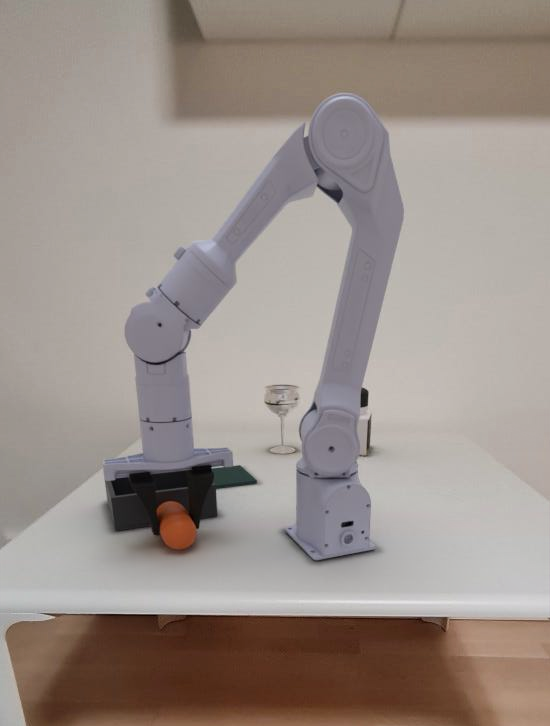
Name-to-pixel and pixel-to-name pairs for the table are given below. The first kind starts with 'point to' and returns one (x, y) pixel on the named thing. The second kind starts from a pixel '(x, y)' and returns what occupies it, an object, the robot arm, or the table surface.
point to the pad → (232, 476)
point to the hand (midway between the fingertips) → (175, 529)
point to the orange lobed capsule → (176, 525)
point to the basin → (168, 488)
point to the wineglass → (282, 407)
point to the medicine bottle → (364, 423)
